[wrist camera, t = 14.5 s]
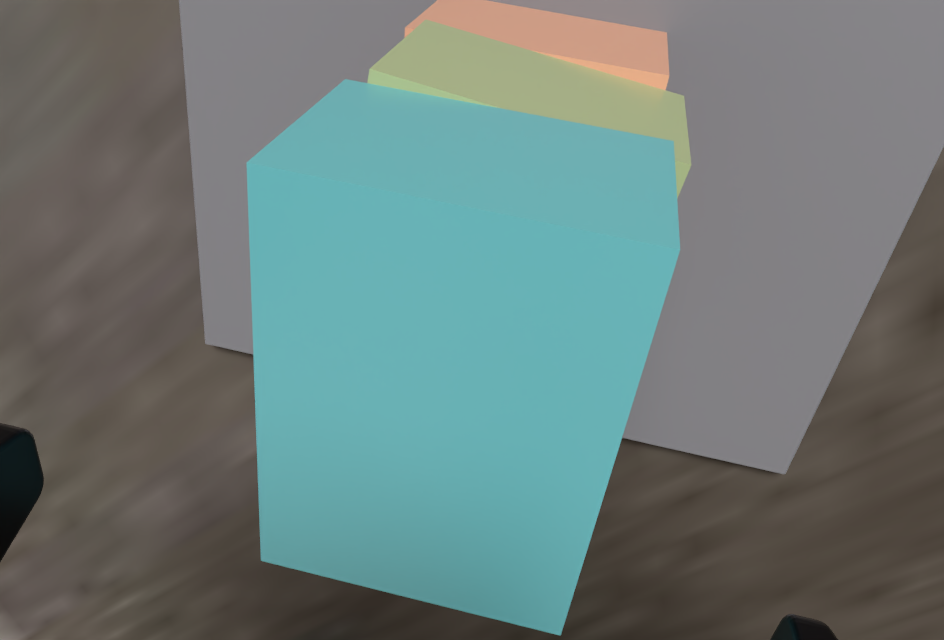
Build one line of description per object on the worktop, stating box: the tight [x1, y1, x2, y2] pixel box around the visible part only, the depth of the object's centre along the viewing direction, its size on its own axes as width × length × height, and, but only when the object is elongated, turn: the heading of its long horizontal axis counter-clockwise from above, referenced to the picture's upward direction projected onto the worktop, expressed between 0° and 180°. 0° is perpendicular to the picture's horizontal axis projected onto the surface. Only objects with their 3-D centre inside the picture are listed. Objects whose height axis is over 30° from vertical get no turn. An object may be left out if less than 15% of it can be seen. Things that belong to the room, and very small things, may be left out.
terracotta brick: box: [404, 0, 669, 90], centre depth 18 cm, size 7×5×4 cm
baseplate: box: [179, 0, 944, 474], centre depth 20 cm, size 16×18×1 cm
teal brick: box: [246, 79, 680, 636], centre depth 12 cm, size 7×5×4 cm
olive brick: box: [367, 20, 691, 198], centre depth 15 cm, size 7×5×4 cm
